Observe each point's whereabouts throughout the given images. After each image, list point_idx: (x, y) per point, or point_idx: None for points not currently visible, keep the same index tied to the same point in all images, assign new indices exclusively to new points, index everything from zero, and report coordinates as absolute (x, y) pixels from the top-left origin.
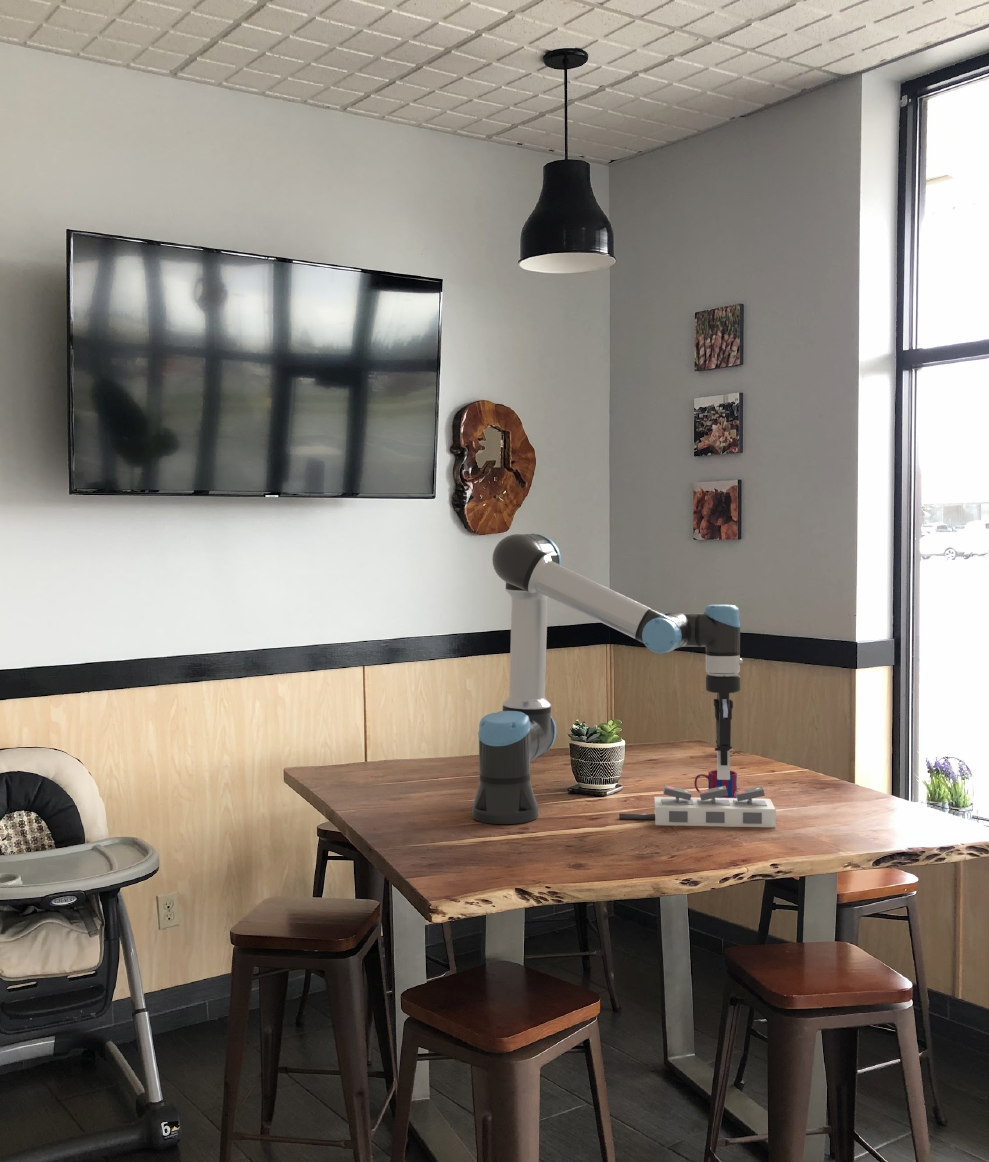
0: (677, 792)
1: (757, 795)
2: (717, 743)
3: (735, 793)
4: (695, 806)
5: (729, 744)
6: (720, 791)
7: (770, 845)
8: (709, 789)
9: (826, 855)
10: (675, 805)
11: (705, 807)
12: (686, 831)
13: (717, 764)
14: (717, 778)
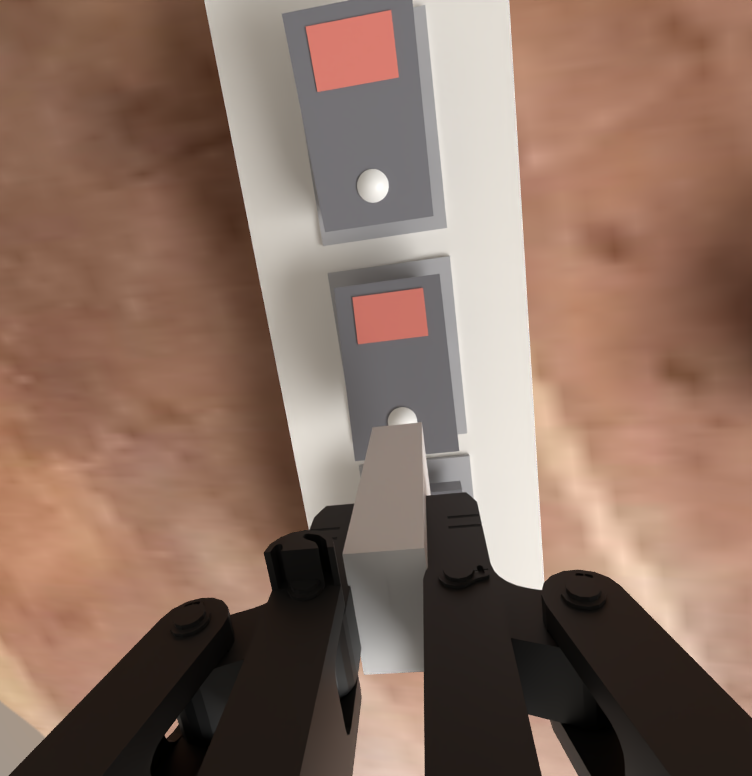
0: (304, 128)
1: None
2: (453, 600)
3: (454, 487)
4: (289, 259)
5: (160, 764)
6: (351, 419)
7: (80, 554)
8: (431, 346)
9: (31, 701)
10: (283, 132)
11: (281, 317)
12: (172, 222)
13: (374, 475)
14: (392, 426)
